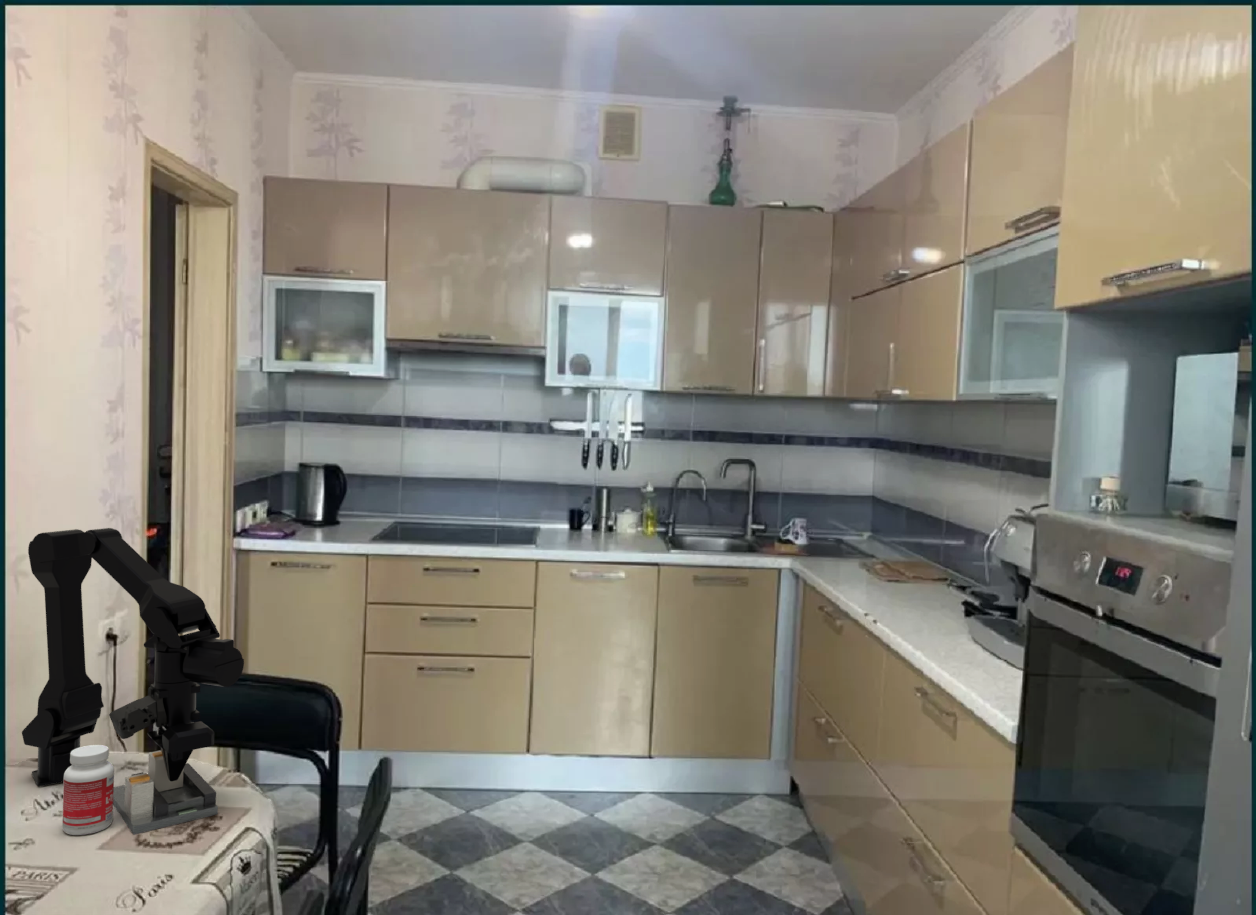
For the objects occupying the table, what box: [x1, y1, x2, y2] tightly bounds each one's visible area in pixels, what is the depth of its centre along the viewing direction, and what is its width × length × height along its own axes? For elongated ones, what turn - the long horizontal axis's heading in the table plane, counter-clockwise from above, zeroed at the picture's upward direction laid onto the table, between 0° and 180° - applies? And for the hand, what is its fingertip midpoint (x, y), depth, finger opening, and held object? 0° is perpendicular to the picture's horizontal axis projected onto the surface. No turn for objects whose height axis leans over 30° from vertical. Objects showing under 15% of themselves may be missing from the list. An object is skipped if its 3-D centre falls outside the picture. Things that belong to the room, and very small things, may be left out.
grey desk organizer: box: [113, 762, 219, 835], centre depth 134 cm, size 16×11×6 cm
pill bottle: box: [61, 744, 115, 836], centre depth 126 cm, size 6×6×11 cm
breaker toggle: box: [147, 749, 183, 792], centre depth 137 cm, size 4×4×5 cm
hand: (173, 780), depth 135 cm, fingers closed
